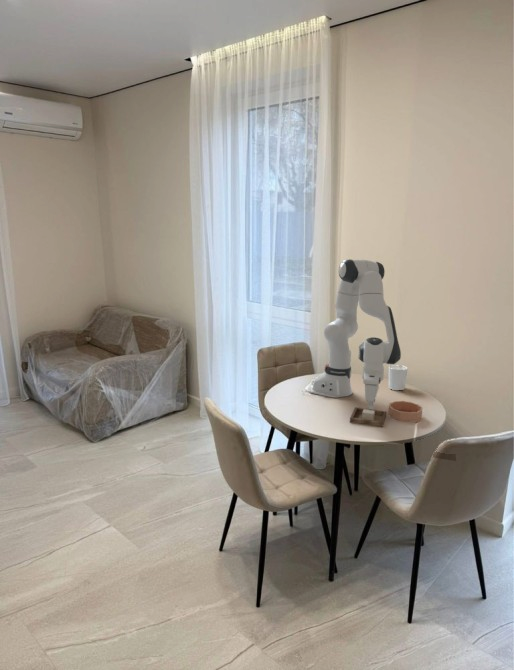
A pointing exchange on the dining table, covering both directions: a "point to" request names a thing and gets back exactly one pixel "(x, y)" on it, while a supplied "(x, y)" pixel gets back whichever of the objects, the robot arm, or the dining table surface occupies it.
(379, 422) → the walnut tray
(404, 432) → the dining table surface
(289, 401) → the dining table surface
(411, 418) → the terracotta bowl
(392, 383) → the candle holder
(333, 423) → the dining table surface
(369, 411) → the off-white cube block
